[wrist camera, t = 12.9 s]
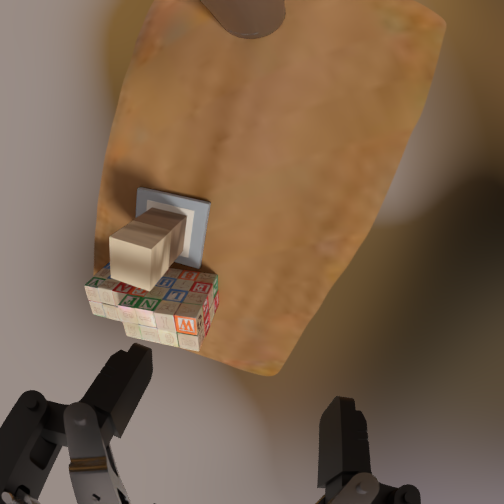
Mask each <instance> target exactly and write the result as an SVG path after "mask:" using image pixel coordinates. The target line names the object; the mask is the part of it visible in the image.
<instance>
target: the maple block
mask: <svg viewBox="0 0 504 504" xmlns="http://www.w3.org/2000/svg"><path fill="white" fill-rule="evenodd" d="M171 232H172V230H168V229H165V228H161V227H157V226H153V225H149V224H145V223H142V222H138V221H134V220H133V221H131V222H130V223H128V224H127V225H126V226H124V227H123V228H121V229H120V230H118V231H117V232H115V233H114V234H113V235H111V236H110V237H109V246H110V271H111V278H113V279H115V280H118V281H121V282H124V283H127V284H129V285H132V286H135V287H138V288H141V289H144V290H147V291H151V290H152V288H153V287H154V286H155V285H156V284H157V282H158V281H159V280H160V279H161V277H162V276H163V275H164V274H165V272H166V271H167V270H168V267H169V254H170V243H171Z"/></svg>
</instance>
